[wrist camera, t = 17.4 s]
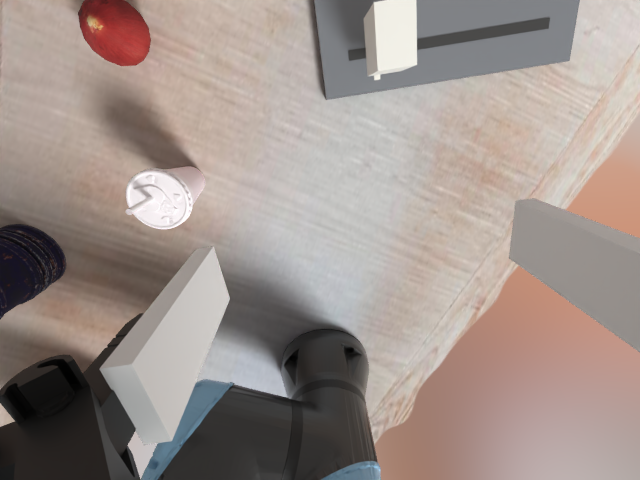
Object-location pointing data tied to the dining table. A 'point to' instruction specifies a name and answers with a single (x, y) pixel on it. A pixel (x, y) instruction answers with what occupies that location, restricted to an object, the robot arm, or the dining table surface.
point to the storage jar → (26, 264)
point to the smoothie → (164, 195)
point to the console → (446, 41)
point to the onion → (115, 31)
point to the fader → (391, 36)
